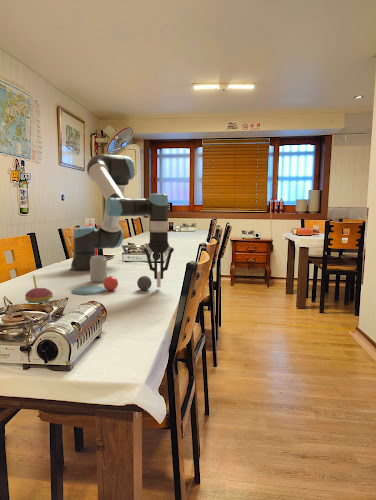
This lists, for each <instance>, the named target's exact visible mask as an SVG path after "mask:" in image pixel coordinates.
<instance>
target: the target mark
mask: <svg viewBox="0 0 376 500" xmlns="http://www.w3.org/2000/svg"><path fill="white" fill-rule="evenodd" d="M106 291H107V289H105V287H104V286H99V285H89V286H79V287H76V288H73V289H72V290H71V293H72V294H73V295H78V296H92V295H93V296H94V295H100V294H103V293H104V292H106Z"/></svg>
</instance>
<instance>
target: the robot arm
mask: <svg viewBox="0 0 376 500" xmlns="http://www.w3.org/2000/svg"><path fill="white" fill-rule="evenodd" d="M86 172H87V175H88V177H89V178H90V180H91V181H93V182H94V183H95V184H96V186H97V188H98V189H99V191H100V193H101V195H102V196H103V197H104V199H105V202H104V213H103V214H104V215H103V221H102V222H101V223H100V224H99V228H98V227H97V228H96V226H95V225H87V226H80V227H76V228H75V229H74V230H73V234H72V238H73V239H72V240H73V258H72V260H71V261H72V262H71V265H70V269H71V270H73V271H79V272H80V271H83V272H84V271H85V272H87V271H90V259H91V258H92V257H91V256H97V251H96V250H99V249H114V248H119V247H120V246H121V245H122V243H123V242H124V241H123V240H124V231H123V228H122V227H121V225H120V224H119V223H120V219H121V217H149V243H148V245H147V246H145V247H143V251H144V253H145V256H146V260H147V262H148V267H149V270H150V271H152V272H154V273H153V276H154V280H156V287H157V288H161V287H162V286H161V283H162V282H161V281H162V280H163V279H164V272H165V271H168V269H169V265H170V261H171V256H172V254H173V252H174V251H175V249H174V247H173V246H171V245H170V242H169V241H168V239H169V233H168V228H169V227H168V226H169V197H168V195H167V193H150V195H149V198H147V197H146V198H145V197H144V198H140V197H139V198H135V197H134V198H133V197H128V198H127V197H125V196H124V194H125V188H126V186H128V185H129V182H130V181H132V180H133V179H134V178H135V175H136V173H135V172H136V170H135V164H134V161H133V159H132V158H131V157H130V156H126V155H117V154H105V153H100V154H99V153H98V154H96V155H94V156H92V157H91V158H90V159H89V161H88V162H87V166H86ZM150 250H151V252H152V253H153V254H154V255H153V260H154V263H152V258H151V255H150ZM166 251H168V253H167V256H166V257H167V258H166V261H165V263H164V253H165V252H166ZM158 254H159V255H160V259H159V262H160V263H159V264H160V265H159V267H160V268H159V269H160V270H158Z"/></svg>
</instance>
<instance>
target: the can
mask: <svg viewBox="0 0 376 500" xmlns="http://www.w3.org/2000/svg"><path fill="white" fill-rule="evenodd" d="M91 257H92V258H91V259H90V270H89V273H90V275H89V276H90V281H91V282H92V283H96V284H99V283H103V282H104V280H105V278H107V277H108V272H107V271H108V269H107V268H108V267H107V265H108V263H107V258H106V256H105V255H100V254H99V255H97V254H96V256H91Z"/></svg>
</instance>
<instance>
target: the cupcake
mask: <svg viewBox="0 0 376 500" xmlns="http://www.w3.org/2000/svg"><path fill="white" fill-rule="evenodd" d="M32 280H33V285H34V287H33V288H32V289H30V290H28V291H26V293H25V294H24V296H25V298H24V299H25V301H26V302H27V303H28V304H29V303H43V302H48V303H49V301H50V299H51V298H53V292H52V291H51V290H49V289H48V288H45V287H38V286H37V281H36V276H35V275H34V273H32Z"/></svg>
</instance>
